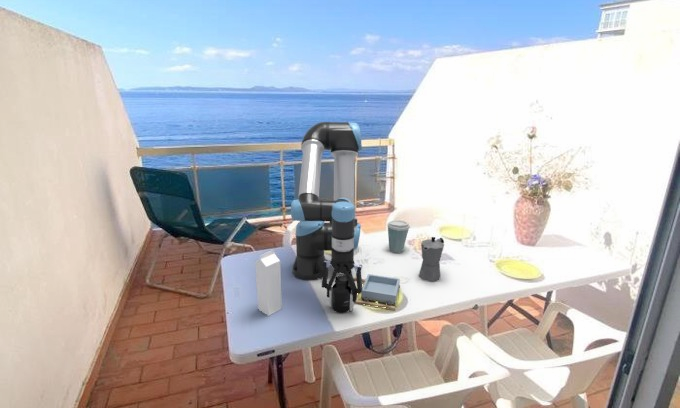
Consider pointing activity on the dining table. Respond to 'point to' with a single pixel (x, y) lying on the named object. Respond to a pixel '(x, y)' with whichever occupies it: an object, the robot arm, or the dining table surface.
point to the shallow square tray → (380, 289)
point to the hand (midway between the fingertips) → (341, 306)
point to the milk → (268, 283)
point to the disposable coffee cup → (397, 235)
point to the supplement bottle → (341, 294)
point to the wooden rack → (371, 302)
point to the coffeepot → (431, 259)
